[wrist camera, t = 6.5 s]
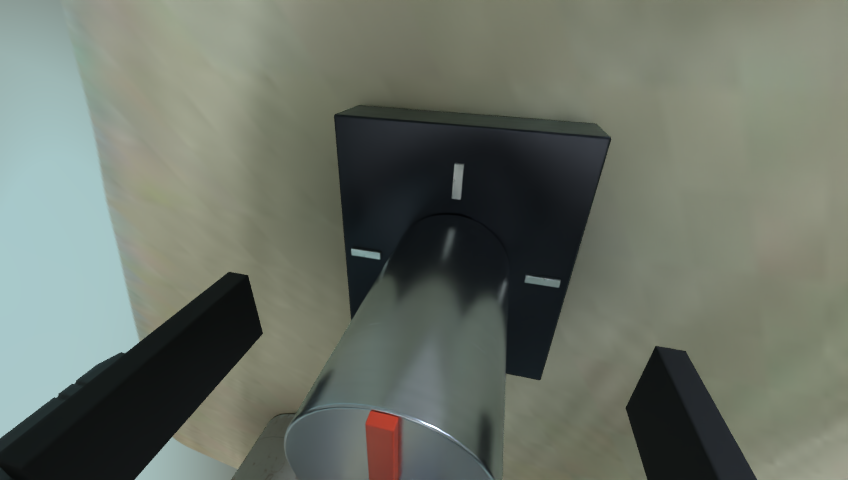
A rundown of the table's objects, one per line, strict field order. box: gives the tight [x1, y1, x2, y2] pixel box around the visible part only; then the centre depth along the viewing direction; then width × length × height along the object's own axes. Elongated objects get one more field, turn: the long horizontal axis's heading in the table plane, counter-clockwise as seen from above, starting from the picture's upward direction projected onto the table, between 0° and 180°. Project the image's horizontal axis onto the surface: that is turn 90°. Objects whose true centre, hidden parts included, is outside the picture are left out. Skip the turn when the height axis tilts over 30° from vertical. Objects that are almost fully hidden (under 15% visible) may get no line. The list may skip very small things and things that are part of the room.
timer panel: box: [334, 105, 611, 380], centre depth 17 cm, size 12×10×3 cm
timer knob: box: [284, 215, 509, 480], centre depth 12 cm, size 5×5×9 cm
